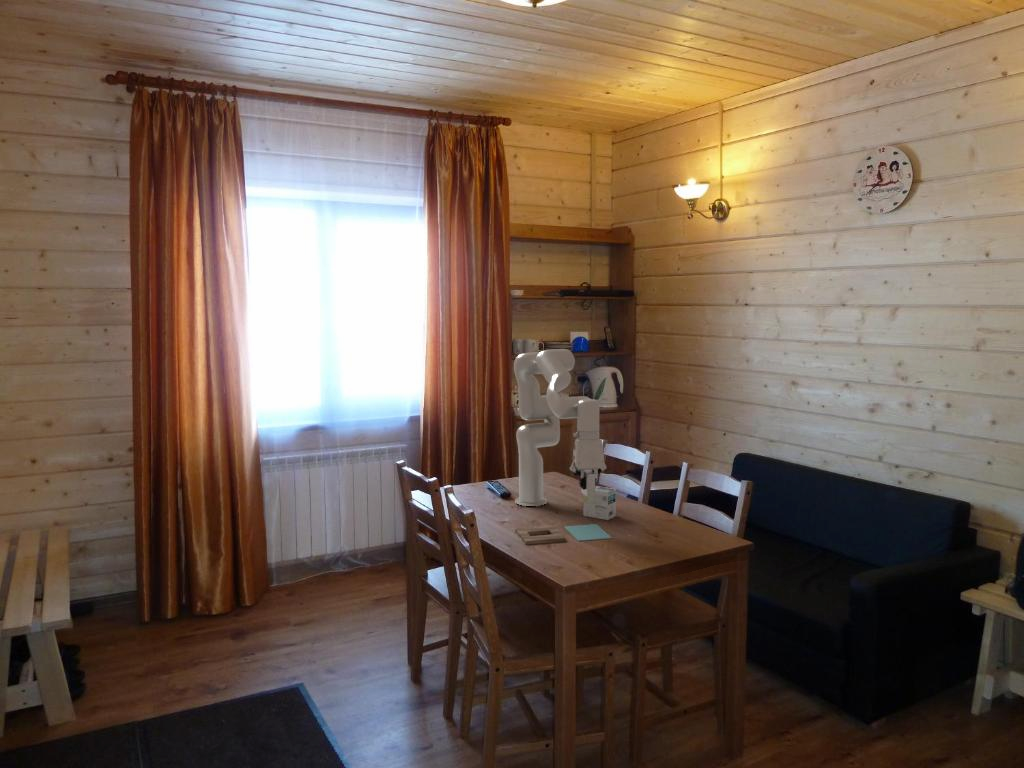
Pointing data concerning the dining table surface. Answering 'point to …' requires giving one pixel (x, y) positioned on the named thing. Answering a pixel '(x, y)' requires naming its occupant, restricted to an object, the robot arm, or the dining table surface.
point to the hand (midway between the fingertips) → (588, 487)
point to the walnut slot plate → (553, 537)
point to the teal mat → (587, 532)
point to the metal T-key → (589, 483)
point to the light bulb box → (600, 503)
